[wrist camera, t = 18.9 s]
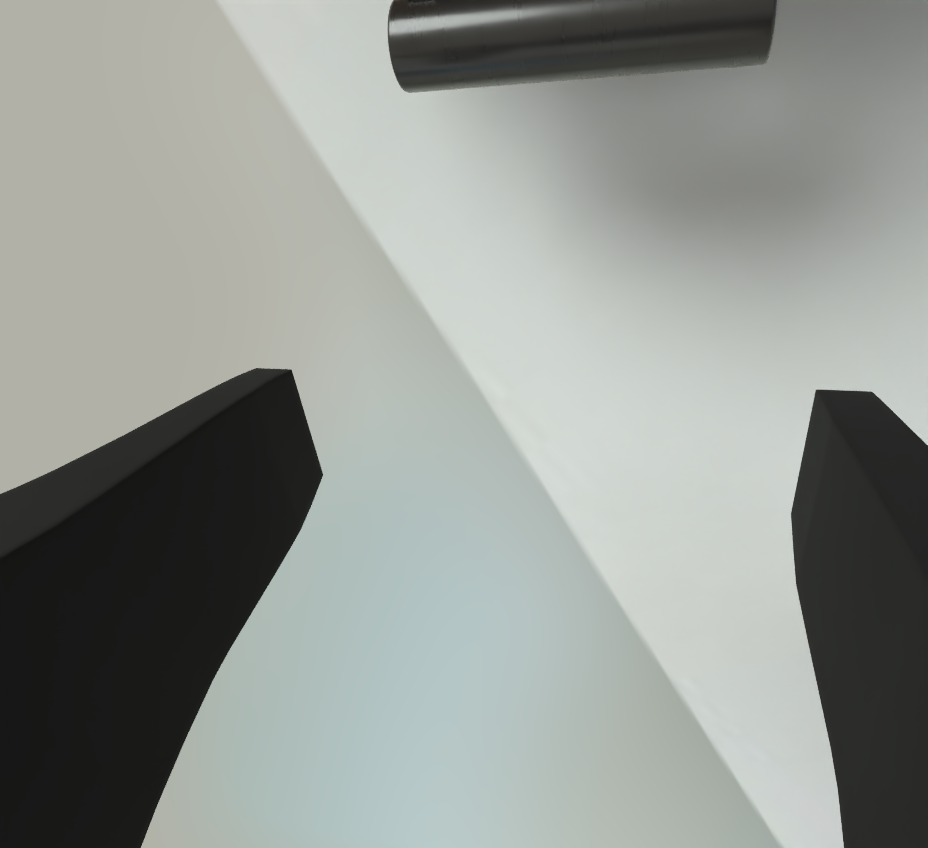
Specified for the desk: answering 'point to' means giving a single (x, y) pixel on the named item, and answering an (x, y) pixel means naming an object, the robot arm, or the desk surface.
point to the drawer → (570, 39)
